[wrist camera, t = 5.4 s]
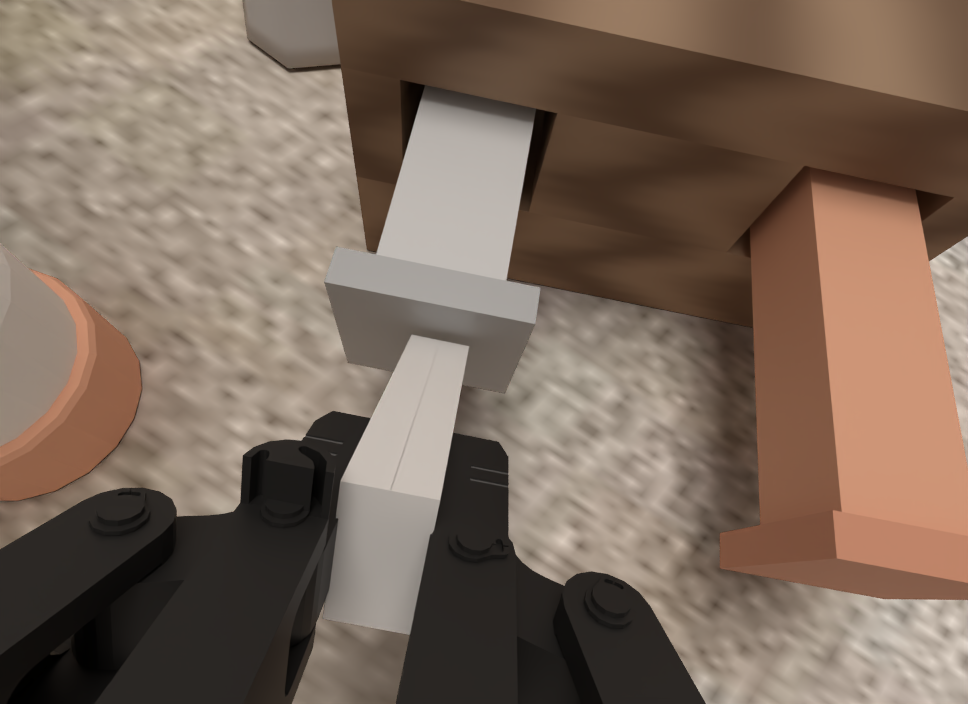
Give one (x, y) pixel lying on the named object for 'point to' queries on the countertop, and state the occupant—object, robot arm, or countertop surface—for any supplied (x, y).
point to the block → (670, 123)
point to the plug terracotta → (852, 399)
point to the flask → (293, 31)
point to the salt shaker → (57, 383)
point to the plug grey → (445, 245)
